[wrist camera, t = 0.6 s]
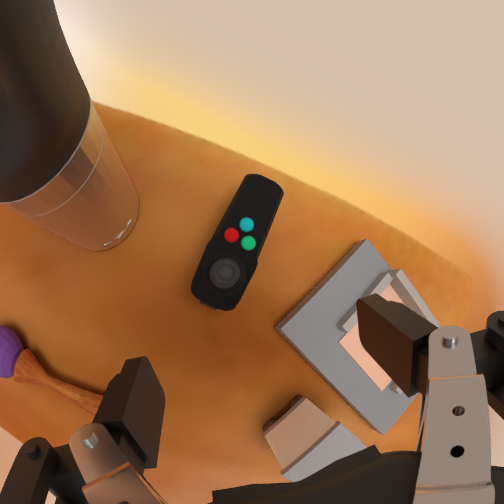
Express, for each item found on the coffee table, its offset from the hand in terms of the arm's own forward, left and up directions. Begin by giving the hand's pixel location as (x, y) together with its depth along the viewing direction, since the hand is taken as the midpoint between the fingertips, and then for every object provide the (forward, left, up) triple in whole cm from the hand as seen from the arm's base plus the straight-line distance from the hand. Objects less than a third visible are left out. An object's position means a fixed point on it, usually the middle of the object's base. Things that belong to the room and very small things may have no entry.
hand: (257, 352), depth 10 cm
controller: (-4, +6, -21) cm, 22 cm away
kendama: (-7, -19, -21) cm, 29 cm away
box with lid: (+15, -2, -20) cm, 25 cm away
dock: (+15, +11, -20) cm, 27 cm away
